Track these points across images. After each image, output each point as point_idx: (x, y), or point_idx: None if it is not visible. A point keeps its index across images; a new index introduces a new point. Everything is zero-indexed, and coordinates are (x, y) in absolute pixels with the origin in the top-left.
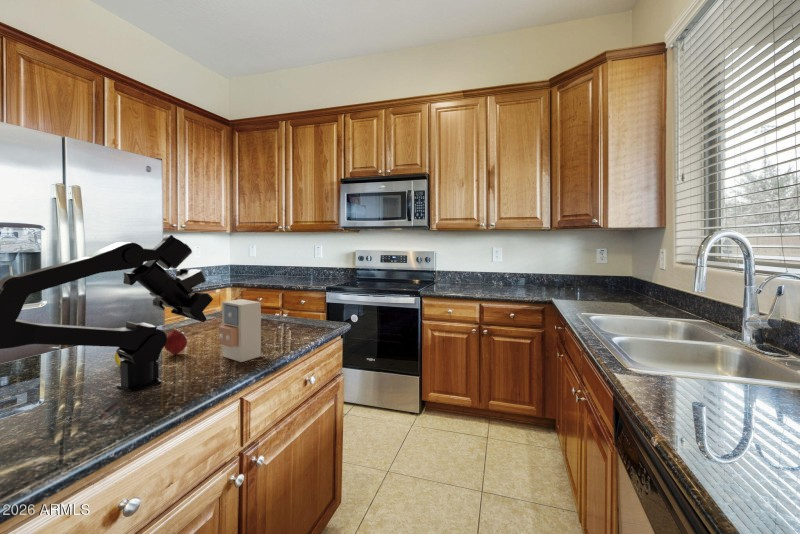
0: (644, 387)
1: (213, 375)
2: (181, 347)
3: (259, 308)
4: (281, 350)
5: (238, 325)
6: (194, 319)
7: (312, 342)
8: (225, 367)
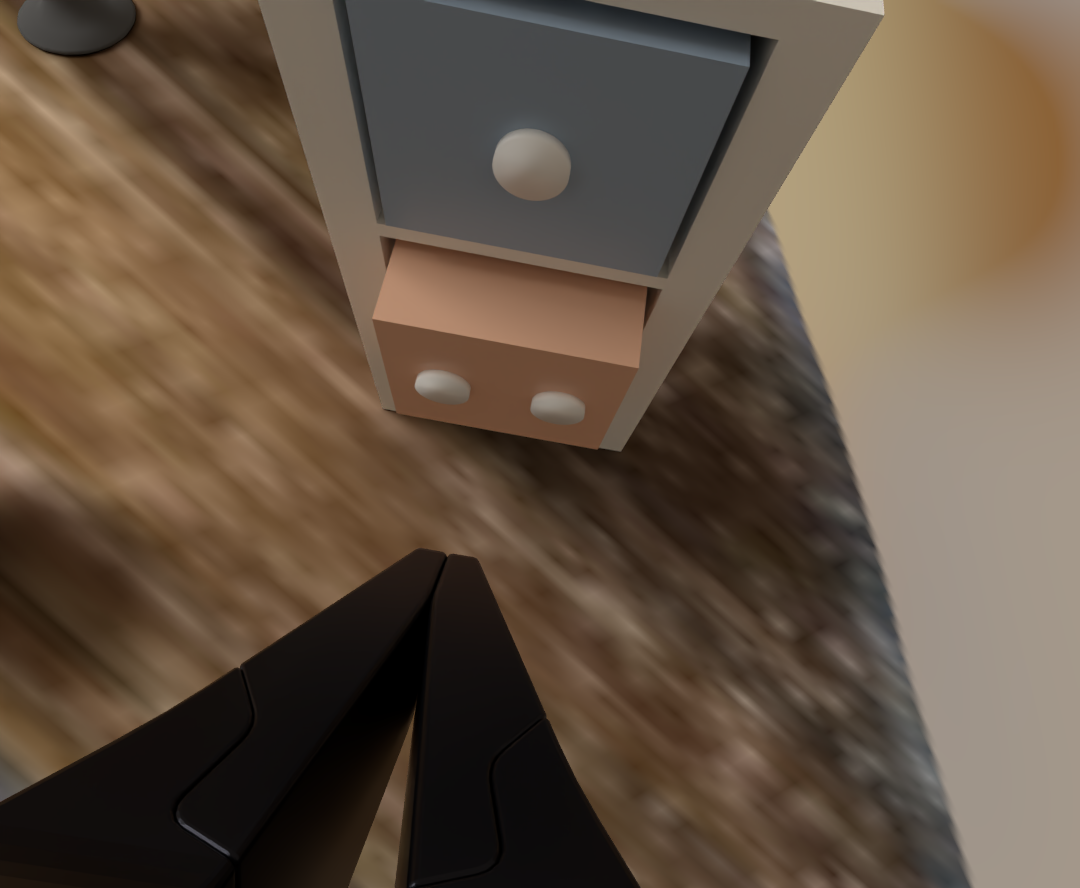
0: None
1: (690, 768)
2: None
3: None
4: None
5: (668, 272)
6: (380, 800)
7: None
8: (616, 587)
